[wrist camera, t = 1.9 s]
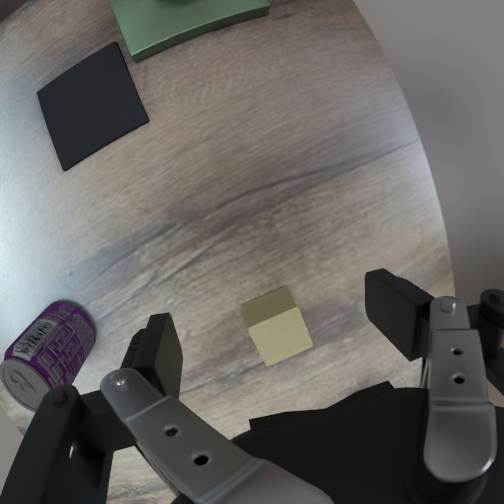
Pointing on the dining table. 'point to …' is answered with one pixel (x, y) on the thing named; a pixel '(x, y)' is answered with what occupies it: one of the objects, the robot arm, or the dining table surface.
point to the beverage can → (47, 354)
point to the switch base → (177, 20)
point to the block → (276, 326)
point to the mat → (91, 106)
